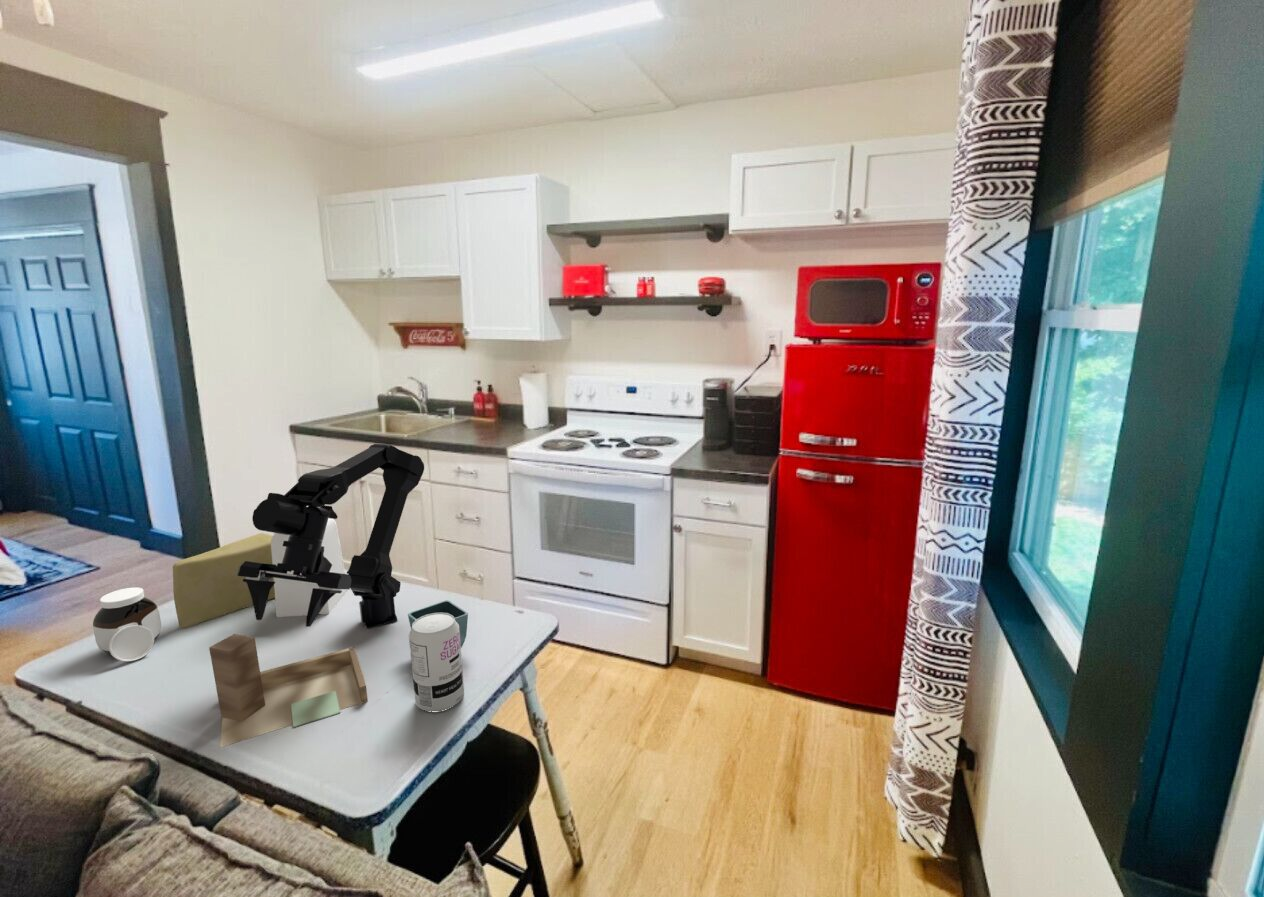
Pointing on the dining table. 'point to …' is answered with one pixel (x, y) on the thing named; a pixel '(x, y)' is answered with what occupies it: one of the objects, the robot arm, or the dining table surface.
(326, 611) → the milk
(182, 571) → the cheese
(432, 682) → the supplement can
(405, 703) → the dining table surface
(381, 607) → the robot arm
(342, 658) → the tray
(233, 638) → the walnut block
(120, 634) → the spread jar
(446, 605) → the flower pot
